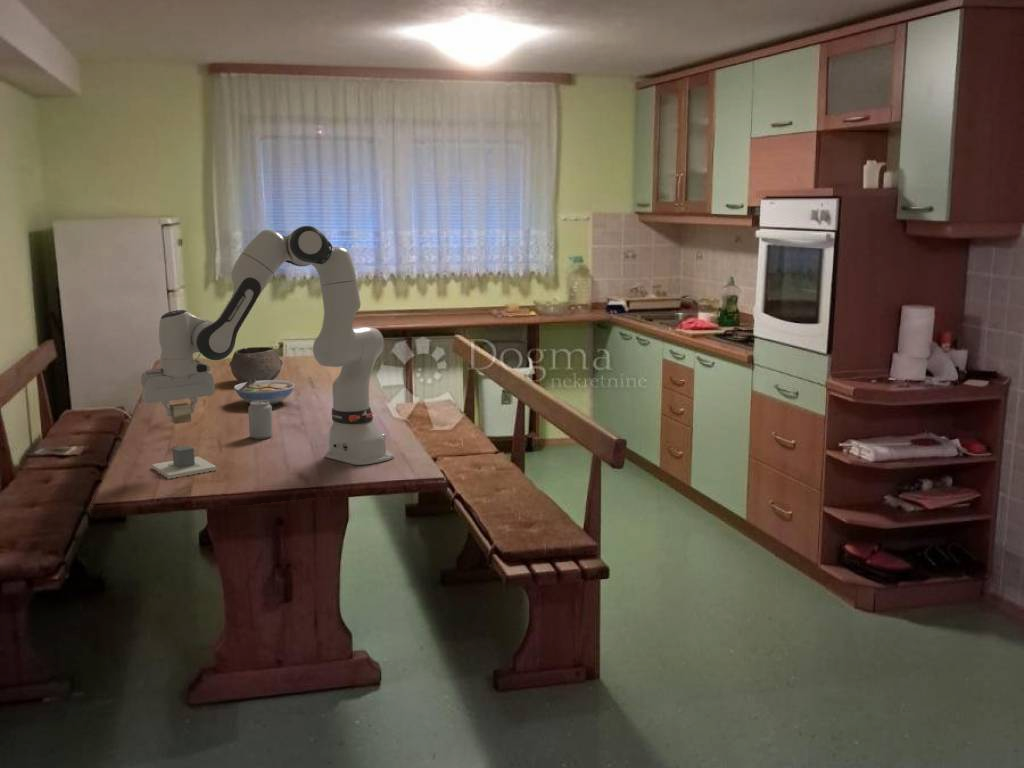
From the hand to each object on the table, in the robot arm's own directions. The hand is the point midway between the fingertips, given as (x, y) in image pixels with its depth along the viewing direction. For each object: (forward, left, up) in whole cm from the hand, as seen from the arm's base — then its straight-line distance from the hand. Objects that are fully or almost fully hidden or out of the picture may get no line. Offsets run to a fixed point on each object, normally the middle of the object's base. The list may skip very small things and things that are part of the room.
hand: (180, 414), depth 276 cm
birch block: (0, 0, -2) cm, 2 cm away
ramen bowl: (+69, -57, -17) cm, 91 cm away
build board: (0, 0, -17) cm, 17 cm away
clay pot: (+110, -72, -17) cm, 132 cm away
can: (+22, -34, -17) cm, 44 cm away
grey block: (0, 0, -15) cm, 15 cm away
